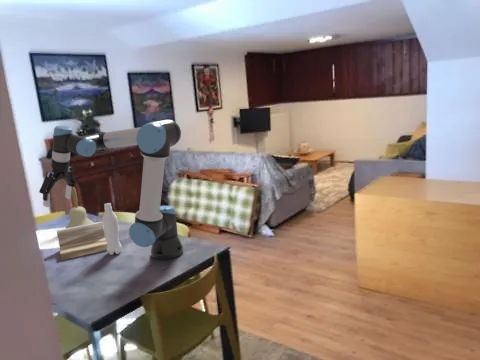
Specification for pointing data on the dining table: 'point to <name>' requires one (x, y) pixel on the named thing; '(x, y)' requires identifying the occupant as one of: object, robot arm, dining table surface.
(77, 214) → the handbell
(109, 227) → the water bottle
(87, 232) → the board
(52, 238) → the dining table surface
